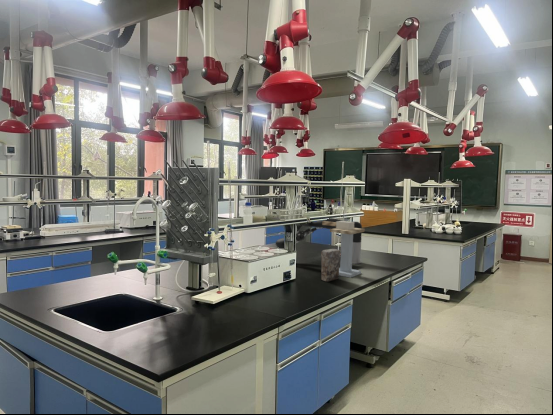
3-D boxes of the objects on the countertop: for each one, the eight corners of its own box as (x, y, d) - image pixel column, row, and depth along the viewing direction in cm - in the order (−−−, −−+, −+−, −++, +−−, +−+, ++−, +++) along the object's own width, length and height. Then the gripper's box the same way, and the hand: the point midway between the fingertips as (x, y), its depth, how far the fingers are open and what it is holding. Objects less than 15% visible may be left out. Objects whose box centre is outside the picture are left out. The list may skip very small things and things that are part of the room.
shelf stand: (328, 274, 269) (329, 229, 267) (342, 269, 286) (344, 226, 284) (348, 278, 259) (350, 231, 257) (362, 272, 277) (364, 228, 275)
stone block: (328, 282, 248) (329, 251, 246) (319, 280, 252) (320, 250, 251) (340, 278, 257) (341, 249, 256) (331, 276, 262) (332, 248, 261)
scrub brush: (320, 226, 280) (320, 219, 279) (325, 225, 286) (326, 219, 286) (348, 229, 266) (349, 222, 265) (354, 228, 272) (354, 221, 272)
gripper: (290, 233, 292) (306, 225, 283) (300, 232, 303) (316, 223, 294) (293, 242, 290) (310, 234, 281) (303, 240, 302) (319, 232, 293)
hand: (313, 228), depth 288 cm, fingers open, 8 cm apart
